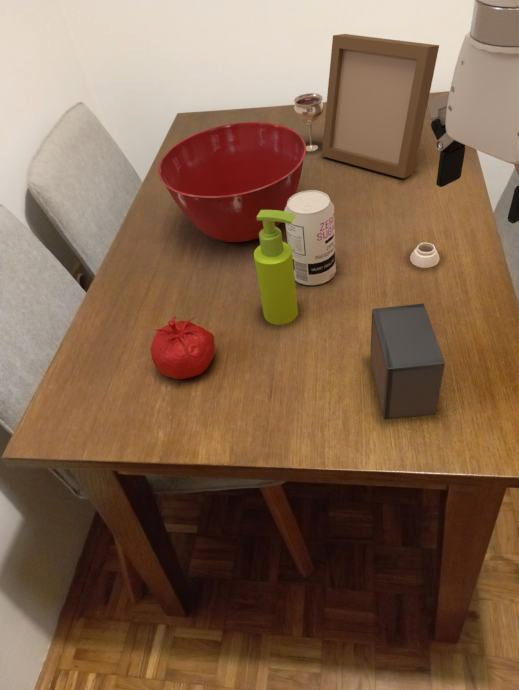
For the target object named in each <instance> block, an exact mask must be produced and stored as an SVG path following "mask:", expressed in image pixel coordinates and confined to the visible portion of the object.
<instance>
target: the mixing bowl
mask: <svg viewBox="0 0 519 690" xmlns="http://www.w3.org/2000/svg"><path fill="white" fill-rule="evenodd" d="M306 146H307V145H306V142H305V140H304V138H303V137H302V135H300V133H298V132H297V131H296V130H294V129H292V128H290V127H288V126H286V125H282V124H279V123H274V122H267V121H242V122H241V121H240V122H233V123H228V124H223V125H218V126H215V127H214V126H213V127H211V128H207V129H204V130H201V131H199V132H197V133H194V134H192V135H190V136H188V137H186V138H184V139H182V140H181V141H179V142H178V143H176V144H174V145H173V146H172V147H171V148H170V149H169V150H168V151H166V153H165V154H164V155H163V157H162V158H161V160H160V162H159V164H158V168H157V174H158V178H159V180H160V182H161V183H162V184H163V185H164V186H165V188H166V189H167V191H168V193H169V195H170V196H171V197H172V199H173V201H174V203H176V205H177V206H178V207H179V209H180V210H181V211H182V213H183V214H184V215H185V217H187V219H188V220H189V221H190V222H191V223H192V224H193V225H194V226H195V227H196V228H197V229H199V230H200V231H201V232H202V233H203V234H204V235H206V236H208V237H210V238H212V239H214V240H217V241H220V242H221V241H222V242H227V243H243V242H249V241H253V240H258V239H259V232H260V231H261V230H262V229H264V228H263V221H260V220H257V215H258V214H259V212H260V211H261V210H279V211H284V210H285V208H286V205H287V201H288V200H289V198H290V197H291V196H293V195H294V194H296V193H297V191H298V188H299V184H300V180H301V177H302V176H301V175H302V171H303V165H304V161H305V160H304V159H305V158H306V155H307V151H306ZM274 223H275V227H277V228H278V227H279V225H281V223H282V222H277V221H274Z"/></svg>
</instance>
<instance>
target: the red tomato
mask: <svg viewBox="0 0 519 690" xmlns="http://www.w3.org/2000/svg"><path fill="white" fill-rule="evenodd" d="M196 318H197V317H193V318H190V319H188V320H177V321H176V319H177V317H176V315H173V317H172V320H168V322H167V324H168V325H164V326H162V327H161V328H157V329H156V328H155V329H154V331H156V333H155V335H154V337H153V339H152V342H151V345H150V356H151V361H152V363H153V365H154V366H155V368H156V369H157V371H158V372H159V373H160V374H161V375H162V376H164V377H167V378H172V379H175V380H185V379H189V378H194V377H196V376H199V375H201V374H202V373H204V372H205V371H206V370H207V369H208V368H209V366H210V364H211V362H212V360H213V358H214V356H215V353H216V351H215V349H216V348H215V346H216V345H215V335H214V334H213V333H212V332H210V331H209V330H206V329H205V328H204V327H203V326H200V325H196V324H195V323H193V322H192V320H194V319H196Z"/></svg>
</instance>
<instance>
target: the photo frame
mask: <svg viewBox="0 0 519 690" xmlns="http://www.w3.org/2000/svg"><path fill="white" fill-rule="evenodd" d="M439 50H440V45H439V44H431V43H423V42H416V41H415V42H414V41H407V40H399V39H397V40H396V39H390V38H382V37H373V36H366V35H356V34H348V33H341V34H333V35H332V43H331V52H330V62H329V63H330V64H329V75H328V83H327V95H326V104H325V105H326V106H325V114H324V115H325V116H324V127H323V137H322V138H323V139H322V146H321V147H322V149H321V157H324V158H328V159H331V160H335V161H339V162H342V163H346V164H349V165H352V166H358V167H360V168H363V169H367V170H371V171H375V172H378V173H382V174H385V175H390V176H393V177H397V178H400V179H406V178H408V177H411V176H412V175H413V174H414V173H415V168H416V164H417V158H418V155H419V154H418V153H419V149H420V145H421V139H422V134H423V129H424V123H425V118H426V114H427V110H428V105H427V103H428V101H429V100H430V95H431V94H430V93H431V90H432V89H431V88H432V84H433V79H434V74H435V69H436V63H437V59H438V54H439Z"/></svg>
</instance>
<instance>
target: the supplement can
mask: <svg viewBox="0 0 519 690" xmlns="http://www.w3.org/2000/svg"><path fill="white" fill-rule="evenodd" d="M284 211H285V212H289V213H292V214H295V215H296V216H295V218H294V220H293V221H292V223H291V224H287V223H284V224H285V231H286V243H287V244H288V245H289V246H290V247H291V249H292V257H293V267H294V277H295V282H296V283H298V284H302V285H305V286H318V285H322V284H325V283H327V282H329V281H330V280H332V278H334V277H335V275H336V273H337V260H336V259H337V257H336V227H335V226H336V225H335V224H336V222H335V220H336V219H335V205H334V203H333V202H332V201H331V198H330V196H329V195H328V194H327V193H325V192H323V191H321V190H315V189H308V190H302V191H299V192H296V194H294V195H293V196H291V197H290V198H289V200H288V201H287V205H286V208H285V210H284Z"/></svg>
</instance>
